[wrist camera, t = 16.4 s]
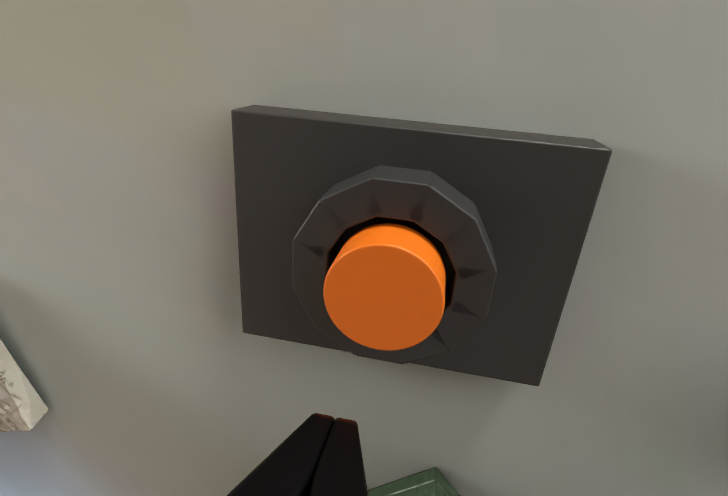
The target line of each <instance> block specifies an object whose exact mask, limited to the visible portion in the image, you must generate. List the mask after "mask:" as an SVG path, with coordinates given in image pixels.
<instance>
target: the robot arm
mask: <svg viewBox="0 0 728 496" xmlns="http://www.w3.org/2000/svg"><path fill="white" fill-rule="evenodd" d="M227 496H368V491H367V485H366V478H365V471H364V465H363V458H362V452H361V445H360V438H359V432H358V425H357V423H356V422H355V421H352V420H348V419H343V418H336V419H334V418H333V417H332V416H328V415H323V414H318V413H315V414H312V415H311V416H310V417H309V418H308V419H307V420H306V421H305V422H304V423H302V424H301V425H300V426H299V427H298V428H297V429H296V430H295V431H294V432H293V433H292V434H291V435H290V436H289V437H288V438H287V439H286V440H285V441H284V442H283V443H281V444H280V445H279V446H278V447H277V448H276V449H275V450H274V451H273V452H272V453H271V454H270V455H269V456H268V457H267V458H266V459H265V460H264V461H263V462H261V463H260V464H259V465H258V466H257V467H256V468H255V469H254V470H253V471H252V472H251V473H250V474H249V475H248V476H247V477H246V478H245V479H244V480H243V481H242V482H240V483H239V484H238V485H237V486H236V487H235V488H234V489H233V490H232V491H231V492H230V493H229V494H228V495H227Z"/></svg>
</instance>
